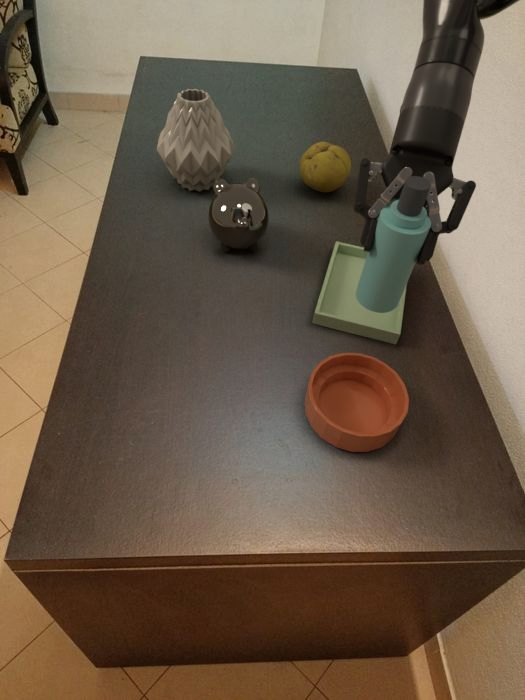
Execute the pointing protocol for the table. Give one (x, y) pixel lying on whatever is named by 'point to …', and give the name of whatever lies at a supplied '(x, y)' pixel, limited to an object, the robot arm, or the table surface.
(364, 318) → the tray
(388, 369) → the bowl
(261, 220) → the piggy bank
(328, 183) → the fruit
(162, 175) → the table surface
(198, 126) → the vase
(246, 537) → the table surface
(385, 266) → the bottle
